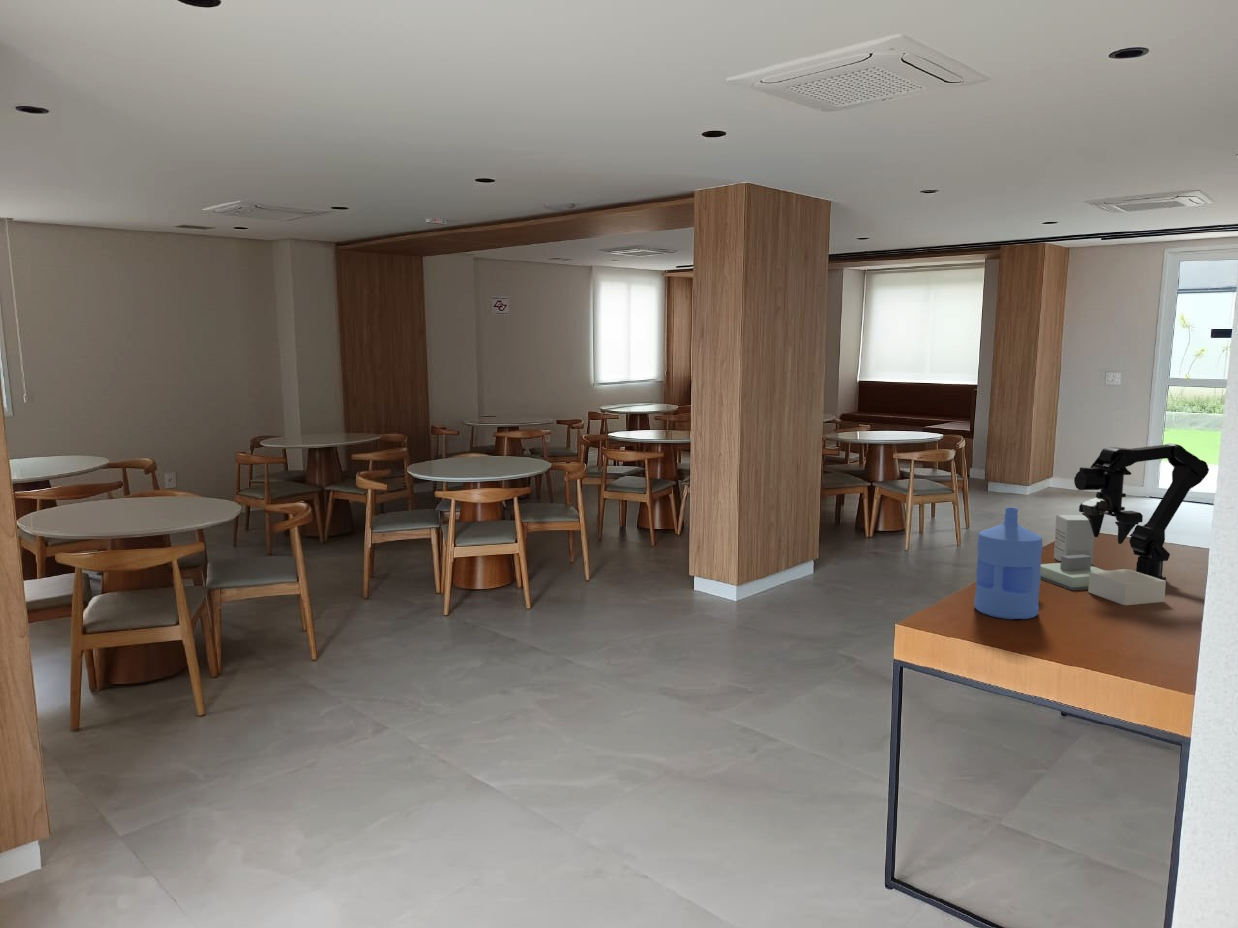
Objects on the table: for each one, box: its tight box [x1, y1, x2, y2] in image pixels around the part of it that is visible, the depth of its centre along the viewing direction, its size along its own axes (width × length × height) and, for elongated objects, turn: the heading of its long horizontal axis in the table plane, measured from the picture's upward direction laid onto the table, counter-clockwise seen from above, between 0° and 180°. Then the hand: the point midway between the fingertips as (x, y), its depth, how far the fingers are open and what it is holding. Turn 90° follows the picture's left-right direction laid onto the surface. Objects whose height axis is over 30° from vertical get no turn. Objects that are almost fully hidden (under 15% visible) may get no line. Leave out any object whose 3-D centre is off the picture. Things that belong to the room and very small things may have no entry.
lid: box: [1040, 554, 1106, 588], centre depth 251 cm, size 15×15×7 cm
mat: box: [1041, 576, 1089, 591], centre depth 252 cm, size 18×18×1 cm
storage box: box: [1087, 568, 1167, 606], centre depth 234 cm, size 13×13×6 cm
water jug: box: [973, 507, 1043, 620], centre depth 221 cm, size 16×16×28 cm
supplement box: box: [1053, 514, 1096, 566], centre depth 273 cm, size 9×9×15 cm
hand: (1107, 540), depth 252 cm, fingers open, 9 cm apart
